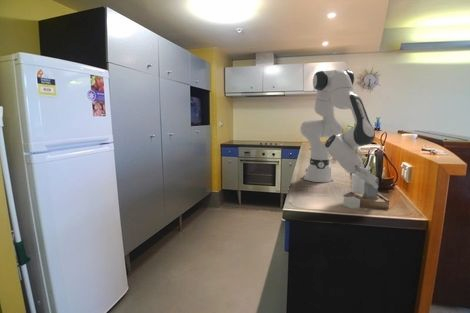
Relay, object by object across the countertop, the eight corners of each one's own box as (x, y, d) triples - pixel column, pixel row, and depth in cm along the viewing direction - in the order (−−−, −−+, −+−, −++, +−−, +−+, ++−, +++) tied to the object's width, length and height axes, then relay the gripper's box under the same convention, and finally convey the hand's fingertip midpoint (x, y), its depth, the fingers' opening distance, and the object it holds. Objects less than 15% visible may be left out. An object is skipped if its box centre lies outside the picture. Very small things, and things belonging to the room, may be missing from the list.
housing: (362, 195, 130) (364, 173, 128) (373, 196, 129) (375, 174, 127) (366, 199, 125) (368, 176, 123) (378, 199, 124) (380, 176, 122)
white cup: (367, 192, 147) (368, 174, 145) (364, 195, 140) (366, 177, 139) (351, 189, 151) (353, 172, 150) (348, 193, 145) (350, 175, 143)
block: (343, 205, 125) (343, 197, 125) (352, 204, 126) (353, 196, 126) (350, 208, 120) (350, 200, 120) (359, 208, 122) (360, 199, 121)
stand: (352, 199, 134) (353, 192, 133) (377, 200, 132) (378, 192, 132) (361, 207, 122) (361, 199, 121) (388, 208, 121) (389, 200, 120)
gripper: (366, 163, 115) (388, 186, 115) (351, 156, 135) (369, 175, 135) (354, 173, 116) (376, 195, 116) (341, 164, 136) (359, 183, 136)
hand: (372, 184), depth 126 cm, fingers open, 8 cm apart
